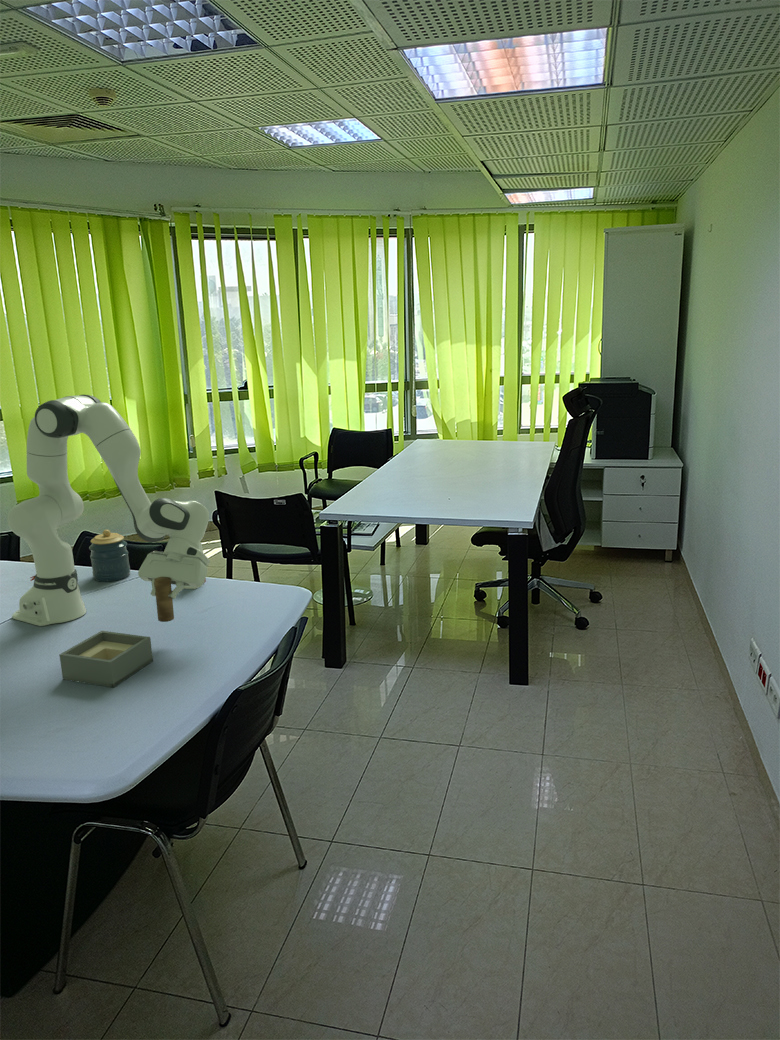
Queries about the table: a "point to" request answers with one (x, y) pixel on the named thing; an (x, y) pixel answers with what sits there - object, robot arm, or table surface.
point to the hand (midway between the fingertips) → (162, 596)
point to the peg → (164, 599)
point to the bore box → (106, 658)
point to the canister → (109, 557)
